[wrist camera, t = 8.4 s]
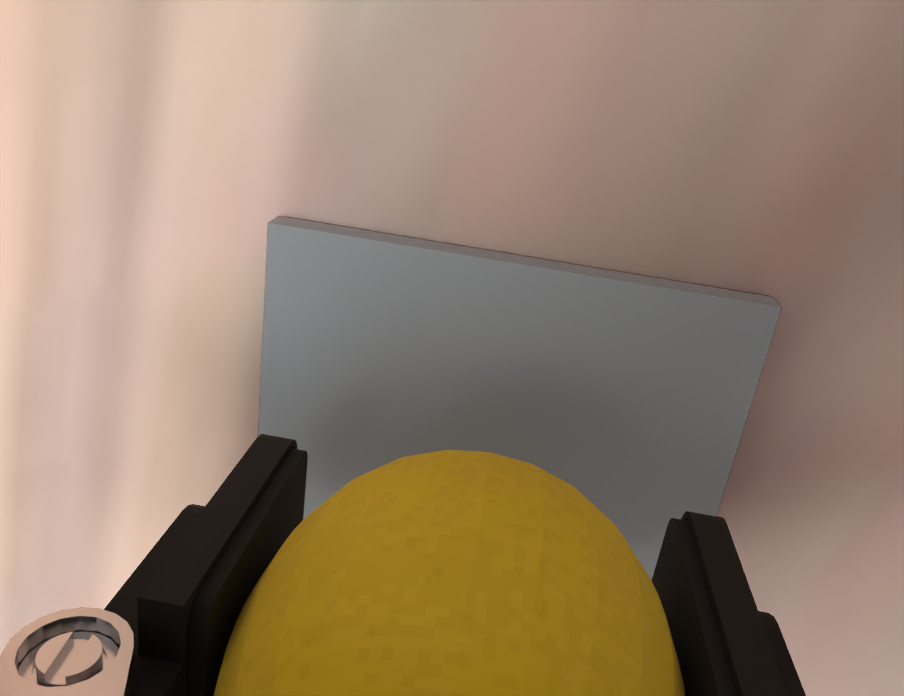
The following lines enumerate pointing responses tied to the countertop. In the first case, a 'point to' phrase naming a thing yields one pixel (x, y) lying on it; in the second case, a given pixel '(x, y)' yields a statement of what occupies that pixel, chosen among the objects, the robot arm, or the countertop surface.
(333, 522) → the lemon
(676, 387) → the mat
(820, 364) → the countertop surface
